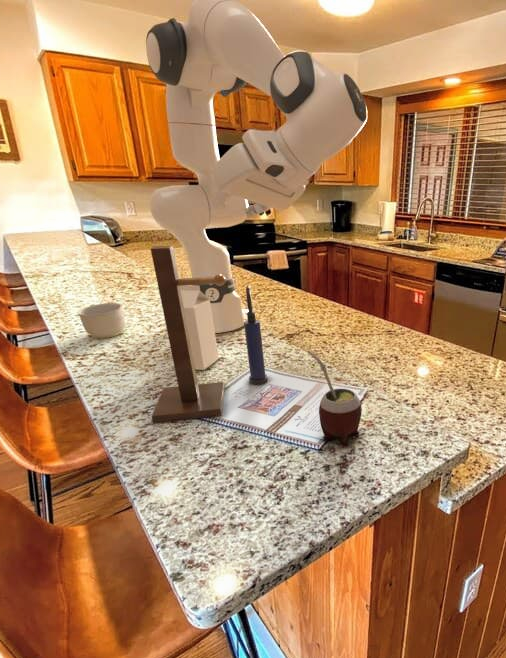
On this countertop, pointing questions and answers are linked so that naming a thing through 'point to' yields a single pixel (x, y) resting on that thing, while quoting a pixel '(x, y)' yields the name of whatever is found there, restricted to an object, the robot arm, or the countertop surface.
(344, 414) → the mate gourd
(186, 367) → the coat stand
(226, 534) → the countertop surface
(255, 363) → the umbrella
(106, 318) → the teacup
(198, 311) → the milk carton
